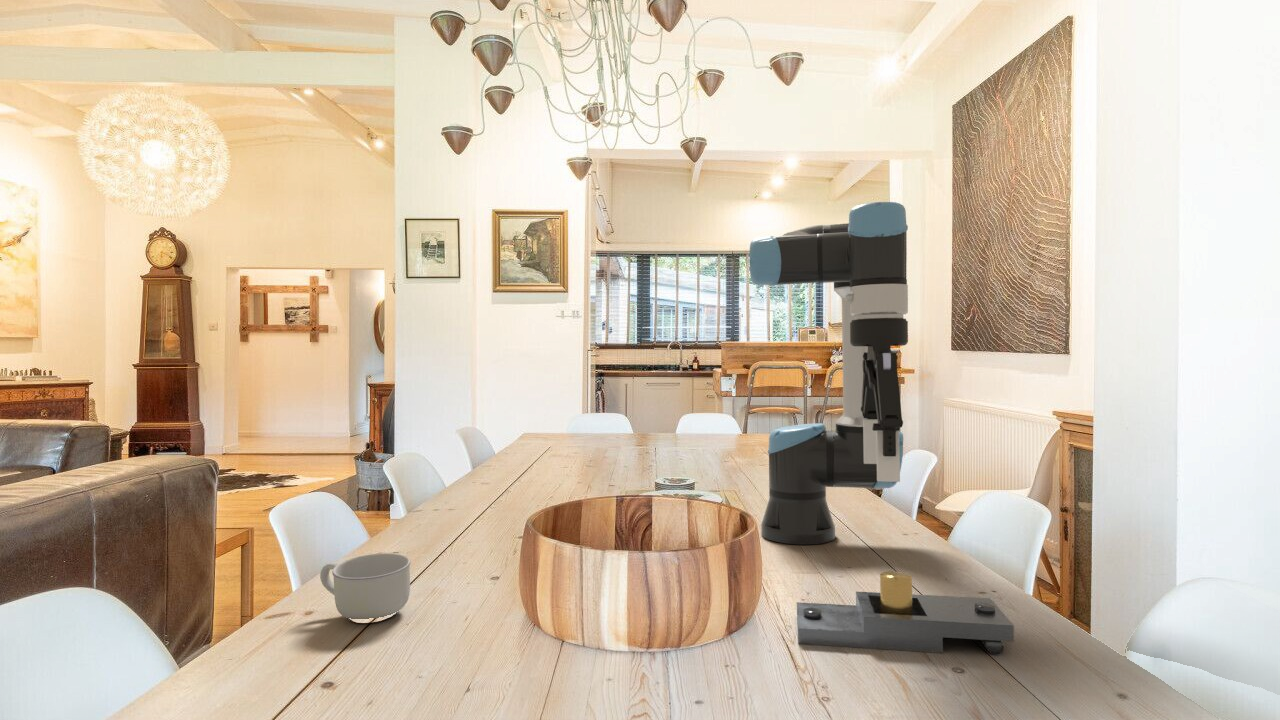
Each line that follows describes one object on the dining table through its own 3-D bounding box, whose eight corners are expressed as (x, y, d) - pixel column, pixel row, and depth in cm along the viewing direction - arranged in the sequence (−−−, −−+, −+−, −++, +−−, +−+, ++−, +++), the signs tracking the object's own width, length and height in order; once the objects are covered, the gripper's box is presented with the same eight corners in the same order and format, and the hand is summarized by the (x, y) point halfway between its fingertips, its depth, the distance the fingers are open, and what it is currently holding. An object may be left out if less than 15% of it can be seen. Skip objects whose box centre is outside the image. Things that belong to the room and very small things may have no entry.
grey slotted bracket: (796, 616, 102) (796, 584, 102) (990, 627, 96) (990, 593, 96) (798, 643, 92) (797, 608, 92) (1014, 657, 87) (1013, 620, 87)
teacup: (426, 609, 106) (425, 557, 107) (371, 635, 97) (370, 577, 97) (358, 597, 112) (358, 547, 112) (300, 621, 103) (299, 566, 103)
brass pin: (879, 628, 97) (878, 570, 97) (910, 630, 96) (909, 571, 96) (883, 640, 93) (882, 579, 93) (915, 642, 92) (914, 581, 92)
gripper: (841, 321, 109) (843, 457, 110) (861, 314, 85) (863, 489, 85) (892, 320, 108) (893, 457, 108) (926, 312, 83) (928, 490, 84)
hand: (880, 472), depth 97 cm, fingers open, 13 cm apart
